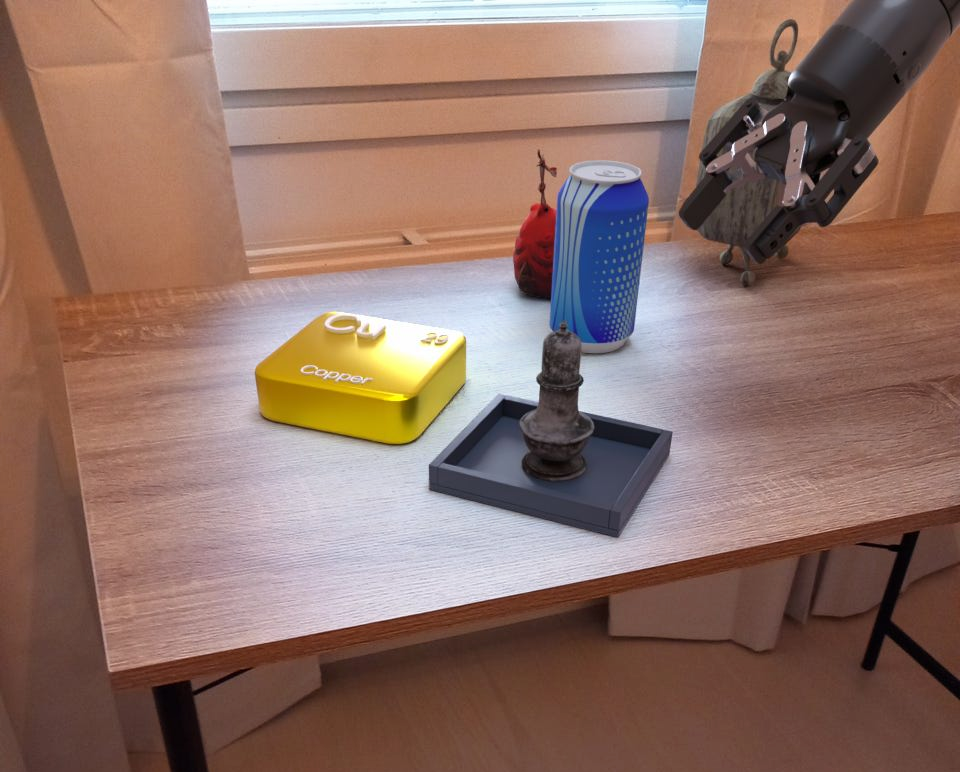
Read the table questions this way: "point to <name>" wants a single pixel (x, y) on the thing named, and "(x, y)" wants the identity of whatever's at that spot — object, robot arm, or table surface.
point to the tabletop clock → (758, 198)
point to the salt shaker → (557, 413)
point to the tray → (577, 502)
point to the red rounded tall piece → (536, 244)
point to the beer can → (599, 253)
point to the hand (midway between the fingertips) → (717, 239)
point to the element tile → (362, 377)
